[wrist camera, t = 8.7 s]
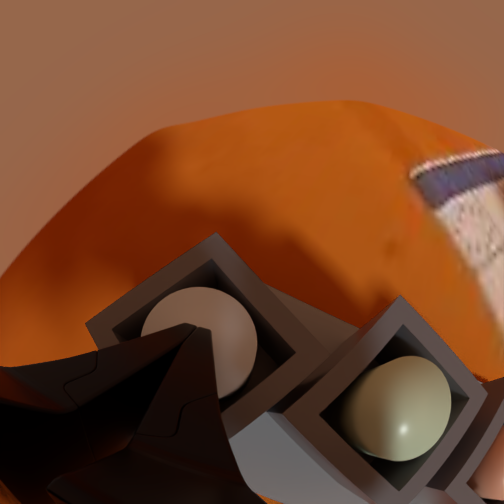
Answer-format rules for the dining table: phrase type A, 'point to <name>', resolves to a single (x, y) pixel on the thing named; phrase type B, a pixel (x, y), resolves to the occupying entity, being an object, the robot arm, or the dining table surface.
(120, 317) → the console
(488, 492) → the salmon orange ball
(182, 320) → the white rounded dome
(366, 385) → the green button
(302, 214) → the dining table surface
